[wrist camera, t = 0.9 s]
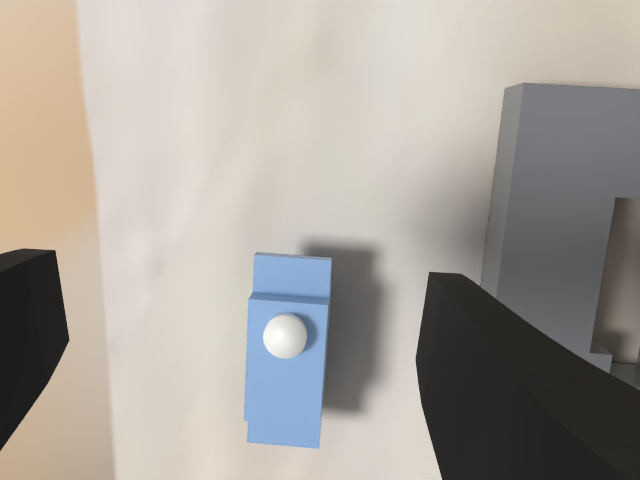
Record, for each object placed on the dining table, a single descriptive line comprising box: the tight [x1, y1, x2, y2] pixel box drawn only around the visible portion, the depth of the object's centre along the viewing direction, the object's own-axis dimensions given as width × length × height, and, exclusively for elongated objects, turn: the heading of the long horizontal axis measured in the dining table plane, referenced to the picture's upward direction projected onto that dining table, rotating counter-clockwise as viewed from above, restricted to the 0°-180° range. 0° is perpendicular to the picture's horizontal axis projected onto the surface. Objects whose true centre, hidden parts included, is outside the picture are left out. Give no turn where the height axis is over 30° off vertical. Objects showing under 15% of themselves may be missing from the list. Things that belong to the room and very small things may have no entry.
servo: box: [244, 252, 332, 449], centre depth 22 cm, size 8×3×5 cm, turn 176°
